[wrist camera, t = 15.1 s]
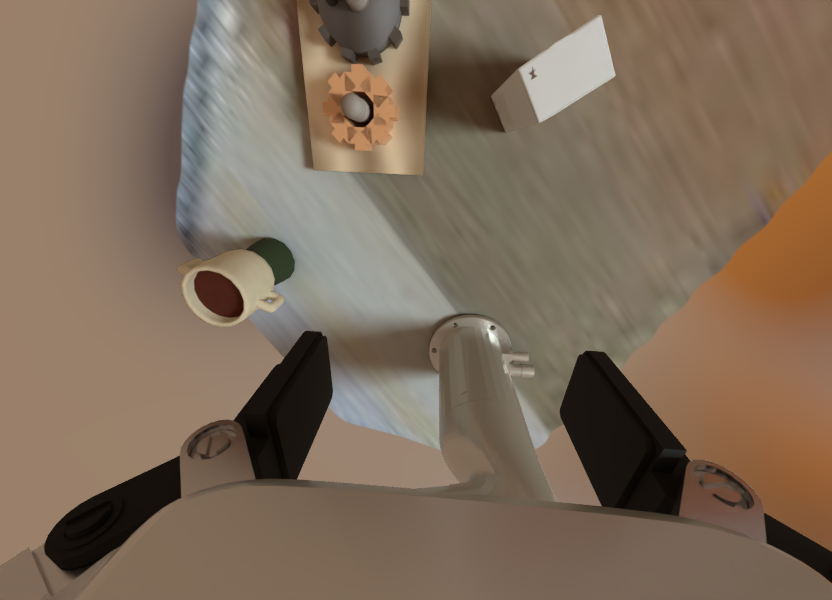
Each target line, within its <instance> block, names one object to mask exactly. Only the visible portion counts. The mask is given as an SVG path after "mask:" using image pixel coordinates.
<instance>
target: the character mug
mask: <svg viewBox="0 0 832 600" xmlns="http://www.w3.org/2000/svg"><path fill="white" fill-rule="evenodd" d="M294 262H295V261H294V259H293V256H292V253H291V251H290V250H289V249H288V248H287V246H286V245H285V244H284V243H282V242H280V241H278V240H276V239H262V240H260V241H258V242H256V243H254V244H253V245H251V246H250V247H248V248H247V249H246V250H244V249H239V250H232V251H227V252H225V253H223V254H221V255H218V256H216V257H214V258H212V259H210V260H208V261H204V260H202V259H193V260H191V261H189V262H186V263H184V264H182V265H180V267H179V268H178V269H177V270H178V272H179V273H180V274H182V275H184V276H183V279H182V281H181V283H180V285H181V292H182V296H183V299H184V301H185V303H186V305H187V306H188V307H189V309H190V310H191V311H192V312H193V313H194V314H195V315H196V316H197V317H199V318H200V319H201V320H203V321H205V322H207V323H208V324H211V325H214V326H219V327H229V326H234V325H236V324H237V323H239V322H241V321H243V320H244V319H246V318H247V317H248V316H249V315H251V314H252V313H253V312H255V311H256V310H257V309H258V308H259V309H262V310H264V311H266V312H270V313H272V312H274V311H275V310H276V309H277V308H278V307H279V306H280V305H281V304H283V303H284V301H285V298H284V297H283V296H282V295H280V294H278V293H275V292H273V289H274V285H276V284H278V283H280V282H283V281H284V280H286V279H288V278H289V277H290V276H291V275H292V273H293V271H294ZM268 299H271V300H273V302H272V303H268V302H266V301H267V300H268Z"/></svg>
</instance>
